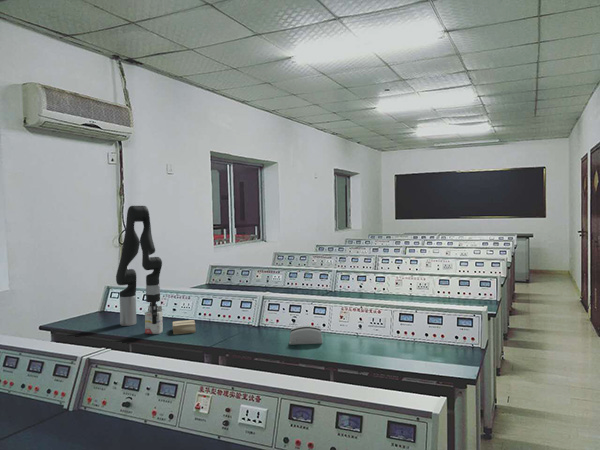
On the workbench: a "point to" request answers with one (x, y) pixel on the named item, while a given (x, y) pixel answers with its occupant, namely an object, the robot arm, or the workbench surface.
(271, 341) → the workbench surface
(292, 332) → the grey arched block
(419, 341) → the workbench surface
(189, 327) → the birch block
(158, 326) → the ink cartridge box
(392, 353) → the workbench surface
